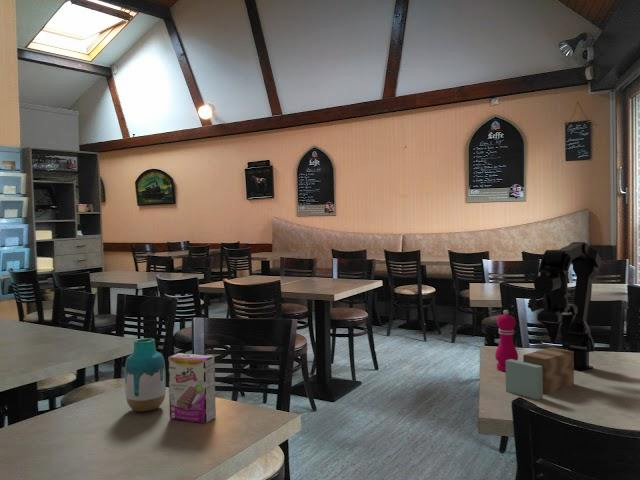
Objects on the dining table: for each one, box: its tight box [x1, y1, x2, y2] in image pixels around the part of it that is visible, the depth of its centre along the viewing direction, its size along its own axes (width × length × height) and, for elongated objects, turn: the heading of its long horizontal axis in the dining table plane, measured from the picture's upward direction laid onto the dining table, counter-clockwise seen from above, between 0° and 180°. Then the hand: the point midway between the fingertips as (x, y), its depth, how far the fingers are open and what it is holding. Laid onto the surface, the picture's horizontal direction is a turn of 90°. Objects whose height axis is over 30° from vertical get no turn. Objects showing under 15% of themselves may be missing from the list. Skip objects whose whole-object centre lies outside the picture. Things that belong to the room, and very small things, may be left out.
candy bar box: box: [167, 352, 217, 424], centre depth 133 cm, size 11×5×16 cm, turn 71°
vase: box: [124, 337, 167, 413], centre depth 141 cm, size 11×11×19 cm
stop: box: [505, 359, 544, 401], centre depth 147 cm, size 2×10×9 cm, turn 35°
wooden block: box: [522, 347, 575, 395], centre depth 154 cm, size 15×7×10 cm, turn 125°
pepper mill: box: [494, 309, 519, 373], centre depth 172 cm, size 7×7×20 cm
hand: (558, 339), depth 161 cm, fingers open, 9 cm apart
